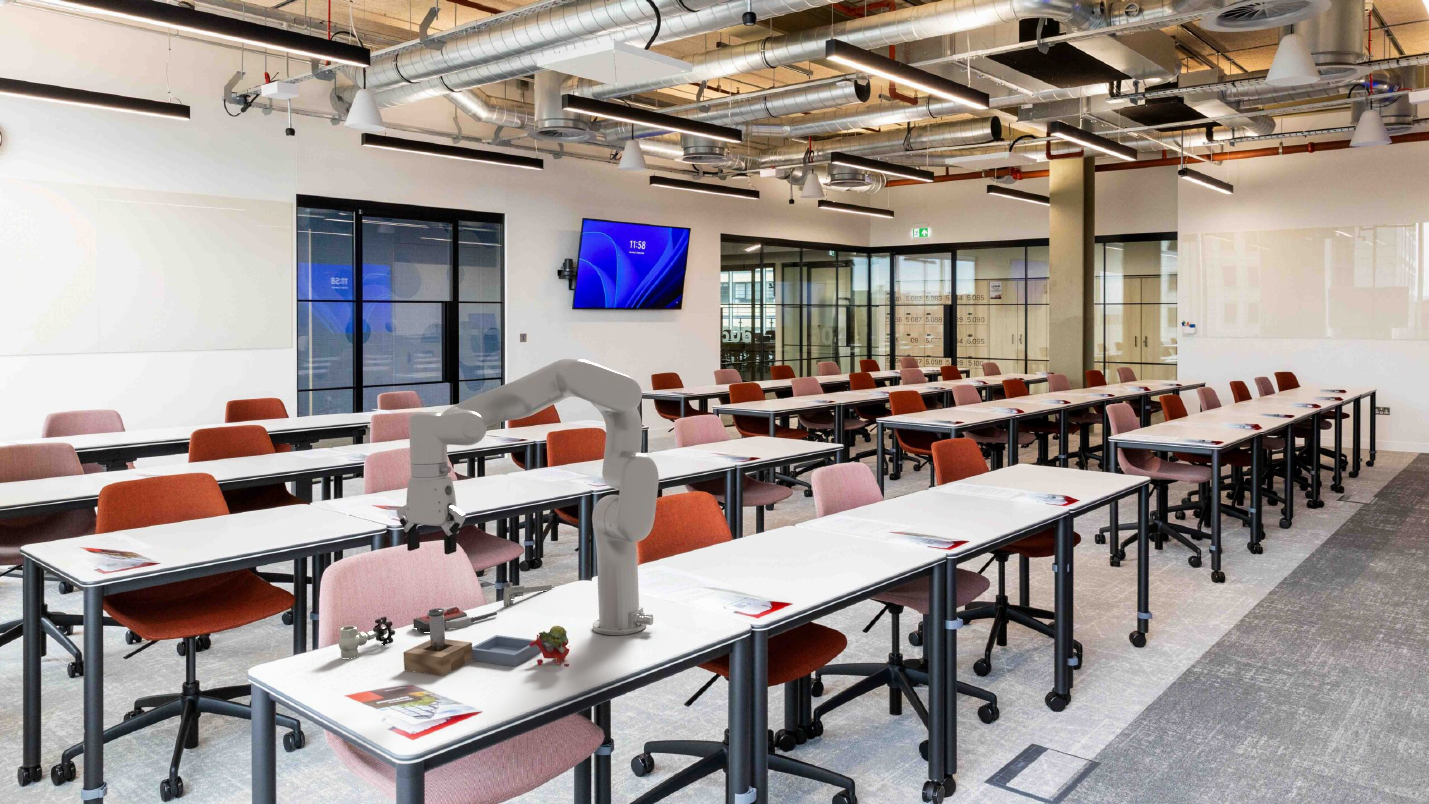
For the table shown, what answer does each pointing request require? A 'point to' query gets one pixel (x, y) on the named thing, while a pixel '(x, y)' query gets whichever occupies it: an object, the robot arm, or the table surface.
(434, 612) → the pin
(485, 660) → the tray
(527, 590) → the caliper
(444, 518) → the robot arm
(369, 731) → the table surface
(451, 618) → the walkie-talkie
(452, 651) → the socket block
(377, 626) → the valve
